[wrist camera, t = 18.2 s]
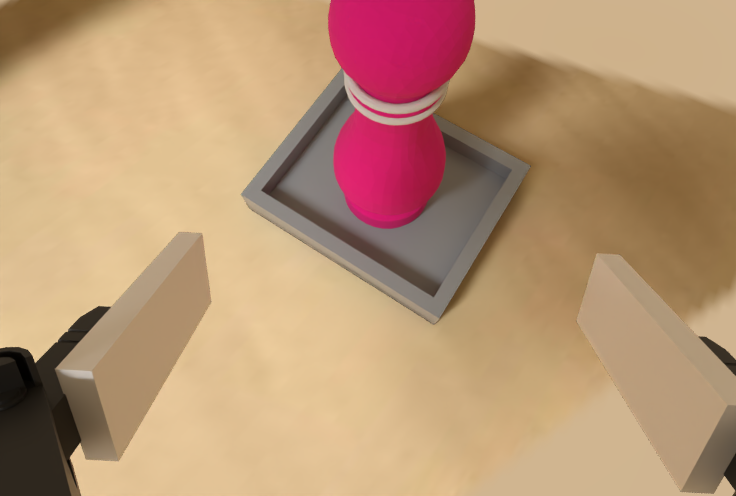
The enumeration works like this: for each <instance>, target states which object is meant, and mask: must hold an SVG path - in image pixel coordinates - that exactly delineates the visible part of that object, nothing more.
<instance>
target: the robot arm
mask: <svg viewBox="0 0 736 496" xmlns="http://www.w3.org/2000/svg"><path fill="white" fill-rule="evenodd" d="M210 304H211V296H210V288H209V281H208V273H207V266H206V258H205V251H204V243H203V236H202V233H191V232H179V233H178V234H177V235H176V236H175V237H174V238H173V239H172V240H171V242H170V243H169V244H168V245H167V246H166V247H165V248H164V249H163V250H162V251H161V253H160V254H159V255H158V256H157V257H156V258H155V259H154V260H153V261H152V263H151V264H150V265H149V266H148V267H147V268H146V269H145V270H144V271H143V272H142V274H141V275H140V276H139V277H138V278H137V279H136V280H135V281H134V282H133V284H132V285H131V286H130V287H129V288H128V289H127V290H126V291H125V292H124V293H123V295H122V296H121V297H120V298H119V299H118V300H117V301H116V302H115V303H114V304H113V306H112V307H102V306H98V307H97V308H95V309H93V310H92V311H90V312H88V313H86V314H85V315H83V316H81V317H80V318H79V319H78V320H77V321H76V322H75V323H74V324H73V325H72V326H71V327H70V328H69V329H68V332H65V333H64V334H63V335H62V336H61V338H60V339H59V340H58V343H57V342H56V343H55V344H54V345H53V346H52V347H51V348H50V349H49V350H48V351H47V352H46V353H45V354H44V355H43V356H42V357H41V358H40V359H39V360H38V361H37V362H36V363H35V362H34V359H33V356H32V355H31V353H30V352H29V351H28V350H26V349H23V348H20V347H5V348H1V349H0V496H81V494H80V490H79V486H78V483H77V479H76V475H75V472H74V468H73V465H72V462H71V459H70V456H71V455H72V453H73V452H74V450H75V449H76V448H77V446H78V445H79V443H81V446H82V449H83V452H84V455H85V458H86V460H104V461H119V460H120V458H121V456H122V455H123V453H124V451H125V450H126V448H127V446H128V444H129V443H130V441H131V439H132V438H133V436H134V434H135V432H136V431H137V429H138V427H139V426H140V424H141V422H142V420H143V419H144V417H145V415H146V413H147V412H148V410H149V408H150V407H151V405H152V403H153V401H154V400H155V398H156V396H157V395H158V393H159V391H160V389H161V388H162V386H163V384H164V383H165V381H166V379H167V377H168V376H169V374H170V372H171V371H172V369H173V367H174V365H175V364H176V362H177V360H178V358H179V357H180V355H181V353H182V352H183V350H184V348H185V346H186V345H187V343H188V341H189V340H190V338H191V336H192V334H193V333H194V331H195V329H196V328H197V326H198V324H199V322H200V321H201V319H202V317H203V316H204V314H205V312H206V310H207V309H208V307H209V305H210ZM576 322H577V324H578V325H579V327H580V328H581V330H582V332H583V333H584V335H585V337H586V338H587V340H588V342H589V343H590V345H591V346H592V348H593V350H594V351H595V353H596V355H597V356H598V358H599V360H600V361H601V363H602V364H603V366H604V368H605V369H606V371H607V373H608V374H609V376H610V377H611V379H612V381H613V382H614V384H615V386H616V387H617V389H618V391H619V392H620V394H621V395H622V397H623V399H624V400H625V402H626V404H627V405H628V407H629V408H630V410H631V412H632V413H633V415H634V416H635V418H636V420H637V422H638V423H639V425H640V426H641V428H642V430H643V431H644V433H645V434H646V436H647V438H648V439H649V441H650V443H651V444H652V446H653V447H654V449H655V451H656V453H657V454H658V456H659V457H660V459H661V461H662V462H663V464H664V466H665V467H666V469H667V471H668V472H669V474H670V475H671V477H672V478H673V480H674V482H675V483H676V485H677V487H678V488H679V490H680V492H692V493H693V492H694V493H711V494H713V493H714V492H715V491H716V489H717V487H718V485H719V484H720V482H721V480H722V479H723V477H724V476H725V477H726V478H727V480H728V481H729V482H730V484H731V485H732V487H733V488H734V489H735V493H734V494H733V496H736V360H735V359H734V358H733V357H732V356H731V355H730V354H729V353H728V352H727V351H726V350H725V349H724V348H722V347H721V346H719V345H718V344H716V343H715V342H713V341H711V340H710V339H708V338H707V337H698V336H697V335H696V334H695V333H694V332H693V331H692V330H691V329H690V328H689V327H688V326H687V325H686V324H685V322H684V321H683V320H682V319H681V318H680V317H679V316H678V315H677V314H676V313H675V312H674V311H673V310H672V309H671V308H670V307H669V306H668V305H667V304H666V303H665V301H664V300H663V299H662V298H661V297H660V296H659V295H658V294H657V293H656V292H655V291H654V290H653V289H652V288H651V287H650V286H649V285H648V284H647V283H646V282H645V281H644V279H643V278H642V277H641V276H640V275H639V274H638V273H637V272H636V271H635V270H634V269H633V268H632V267H631V266H630V265H629V264H628V263H627V262H626V261H625V260H624V258H623V257H622V256H621V255H619V254H600V253H597V254H596V257H595V260H594V263H593V267H592V270H591V273H590V277H589V280H588V283H587V286H586V290H585V293H584V296H583V300H582V303H581V306H580V310H579V313H578V316H577V319H576Z"/></svg>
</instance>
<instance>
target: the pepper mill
mask: <svg viewBox="0 0 736 496" xmlns="http://www.w3.org/2000/svg"><path fill="white" fill-rule="evenodd" d="M328 29H329V36H330V42H331V46H332V49H333V52H334V55H335V58H336V59H337V61H338V62H339V64H340V66H341V67H342V69H343V70H344V85H345V89H346V92H347V95H348V98H349V99H350V101H351V103H352V104H353V105H354V107H355V111H354V112H353V113H352V114H351V116H350V117H349V118H348V119H347V121H346V122H345V124H344V125H343V127H342V128H341V130H340V132H339V135H338V137H337V140H336V143H335V146H334V155H333V165H334V173H335V177H336V180H337V182H338V184H339V186H340V188H341V190H342V191H343V193H344V196H345V200H346V203H347V205H348V207H349V209H350V210H351V212H352V213H353V214H354V215H355V216H356V217H357V218H358V219H359V220H361V221H363V222H364V223H366V224H368V225H370V226H373V227H377V228H382V229H393V228H398V227H401V226H404V225H406V224H409V223H410V222H412V221H413V220H415V219H416V218H417V217H418V216H419V215H420V214H421V213H422V211H423V210H424V208H425V206H426V204H427V202H428V200H429V199H430V198H431V197H432V196H433V195H434V193H435V192H436V191H437V189H438V187H439V185H440V183H441V181H442V179H443V174H444V169H445V162H446V151H445V145H444V140H443V136H442V133H441V131H440V128H439V126H438V125H437V123H436V121H435V119H434V117H433V112H435V111H436V110H437V109H438V107H439V106H440V105H441V103H442V102H443V100H444V98H445V96H446V93H447V89H448V84H449V81H450V79H451V78H452V76H453V75H454V74H455V73H456V71H457V70H458V69H459V67H460V66H461V65H462V64H463V62H464V61H465V59H466V57H467V54H468V52H469V50H470V47H471V43H472V40H473V35H474V30H475V5H474V0H331V3H330V9H329V15H328Z"/></svg>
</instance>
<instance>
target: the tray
mask: <svg viewBox="0 0 736 496" xmlns="http://www.w3.org/2000/svg"><path fill="white" fill-rule="evenodd" d="M354 111H355V107H354V105H353V104H352V103H351V101H350V99H349V98H348V95H347V92H346V89H345V85H344V70H343V69H341V70H340V71H339V72H338V74H337V75H336V76H335V77H334V79H333V80H332V81H331V82H330V84H329V85H328V86H327V87H326V89H325V90H324V91H323V92H322V94H321V95H320V96H319V97H318V99H317V100H316V101H315V102H314V104H313V105H312V106H311V107H310V109H309V110H308V111H307V112H306V114H305V115H304V116H303V117H302V119H301V120H300V121H299V122H298V124H297V125H296V126H295V127H294V129H293V130H292V131H291V132H290V134H289V135H288V136H287V137H286V139H285V140H284V141H283V142H282V144H281V145H280V146H279V147H278V149H277V150H276V151H275V152H274V154H273V155H272V156H271V157H270V159H269V160H268V161H267V162H266V163H265V165H264V166H263V167H262V168H261V170H260V171H259V172H258V173H257V175H256V176H255V177H254V178H253V180H252V181H251V182H250V183H249V185H248V186H247V187H246V188H245V190H244V191H243V192H242V193H241V196H242V197H243V199H244V201H245V202H246V204H247V205H248V207H249V209H251V210H253V211H254V212H256V213H257V214H259V215H260V216H262V217H264V218H265V219H267V220H268V221H270V222H272V223H273V224H275V225H276V226H278V227H280V228H281V229H283V230H284V231H286V232H287V233H289V234H291V235H292V236H294V237H295V238H297V239H299V240H300V241H302V242H303V243H305V244H307V245H308V246H310V247H311V248H313V249H314V250H316V251H318V252H319V253H321V254H322V255H324V256H326V257H327V258H329V259H330V260H332V261H334V262H335V263H337V264H338V265H340V266H341V267H343V268H345V269H346V270H348V271H349V272H351V273H353V274H354V275H356V276H357V277H359V278H361V279H362V280H364V281H365V282H367V283H368V284H370V285H372V286H373V287H375V288H376V289H378V290H380V291H381V292H383V293H384V294H386V295H387V296H389V297H391V298H392V299H394V300H395V301H397V302H399V303H400V304H402V305H403V306H405V307H407V308H408V309H410V310H411V311H413V312H414V313H416V314H418V315H419V316H421V317H422V318H424V319H426V320H427V321H429V322H430V323H432V324H435V323H436V322H437V321H438V320H439V318H440V317H441V315H442V313H443V312H444V310H445V308H446V307H447V305H448V303H449V302H450V300H451V298H452V297H453V295H454V294H455V292H456V290H457V289H458V287H459V285H460V284H461V282H462V280H463V279H464V277H465V275H466V274H467V272H468V270H469V269H470V267H471V265H472V264H473V262H474V260H475V259H476V257H477V255H478V254H479V252H480V250H481V249H482V247H483V245H484V244H485V242H486V240H487V239H488V237H489V235H490V234H491V232H492V230H493V229H494V227H495V225H496V224H497V222H498V220H499V219H500V217H501V215H502V214H503V212H504V210H505V209H506V207H507V205H508V204H509V202H510V200H511V199H512V197H513V195H514V194H515V192H516V190H517V189H518V187H519V185H520V184H521V182H522V180H523V179H524V177H525V175H526V174H527V172H528V170H529V169H530V167H531V166H530V165H529V164H527V163H525V162H523V161H521V160H519V159H517V158H516V157H514V156H512V155H510V154H508V153H506V152H505V151H503V150H501V149H499V148H497V147H495V146H493V145H492V144H490V143H488V142H486V141H484V140H482V139H481V138H479V137H477V136H475V135H473V134H471V133H469V132H468V131H466V130H464V129H462V128H460V127H458V126H456V125H455V124H453V123H451V122H449V121H447V120H445V119H444V118H442V117H440V116H438V115H436V114H434V113H433V117H434V119H435V121H436V123H437V125H438V126H439V128H440V131H441V133H442V136H443V140H444V145H445V151H446V162H445V169H444V174H443V179H442V181H441V183H440V185H439V187H438V189H437V191H436V192H435V193H434V195H433V196H432V197H431V198H430V199H429V200H428V202H427V204H426V206H425V208H424V210H423V211H422V213H421V214H420V215H419V216H418V217H417V218H416V219H415V220H413V221H412V222H410V223H409V224H406V225H404V226H401V227H398V228H393V229H382V228H377V227H373V226H370V225H368V224H366V223H364V222H363V221H361V220H359V219H358V218H357V217H356V216H355V215H354V214H353V213H352V212H351V210H350V209H349V207H348V205H347V203H346V200H345V196H344V193H343V191H342V190H341V188H340V186H339V184H338V182H337V180H336V177H335V173H334V165H333V155H334V146H335V143H336V140H337V137H338V135H339V132H340V130H341V128H342V127H343V125H344V124H345V122H346V121H347V119H348V118H349V117H350V116H351V114H352V113H353V112H354Z"/></svg>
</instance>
